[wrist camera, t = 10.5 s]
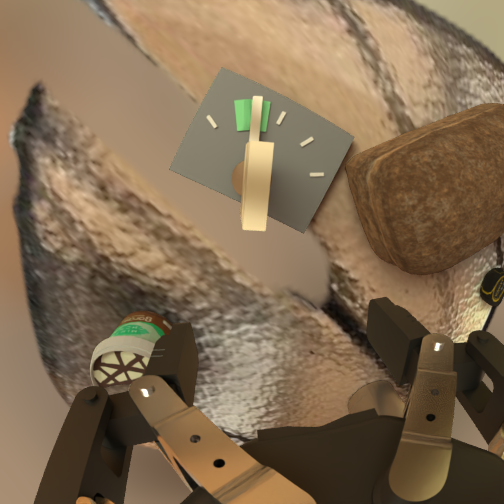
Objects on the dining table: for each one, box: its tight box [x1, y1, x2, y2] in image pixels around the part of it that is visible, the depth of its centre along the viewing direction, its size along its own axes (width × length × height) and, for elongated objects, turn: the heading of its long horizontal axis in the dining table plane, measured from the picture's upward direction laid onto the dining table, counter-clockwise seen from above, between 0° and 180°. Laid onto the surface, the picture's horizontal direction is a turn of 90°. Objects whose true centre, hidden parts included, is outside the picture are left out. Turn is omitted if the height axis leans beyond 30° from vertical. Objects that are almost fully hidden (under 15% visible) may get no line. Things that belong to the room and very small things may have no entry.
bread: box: [345, 103, 504, 275], centre depth 27 cm, size 15×32×16 cm, turn 116°
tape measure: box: [481, 268, 504, 307], centre depth 40 cm, size 7×7×4 cm
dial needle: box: [232, 96, 274, 231], centre depth 26 cm, size 12×4×10 cm, turn 175°
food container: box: [90, 311, 173, 388], centre depth 34 cm, size 12×6×10 cm, turn 109°
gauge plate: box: [169, 67, 354, 233], centre depth 32 cm, size 13×17×2 cm
